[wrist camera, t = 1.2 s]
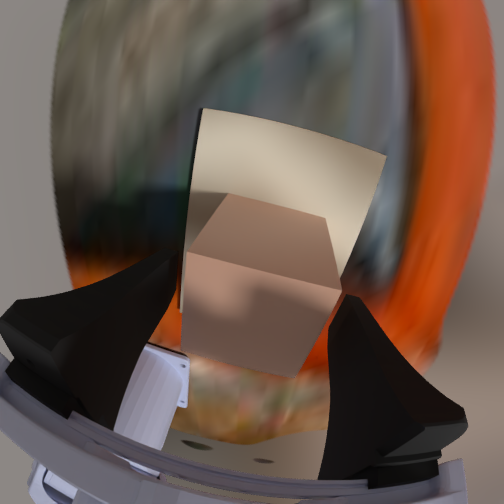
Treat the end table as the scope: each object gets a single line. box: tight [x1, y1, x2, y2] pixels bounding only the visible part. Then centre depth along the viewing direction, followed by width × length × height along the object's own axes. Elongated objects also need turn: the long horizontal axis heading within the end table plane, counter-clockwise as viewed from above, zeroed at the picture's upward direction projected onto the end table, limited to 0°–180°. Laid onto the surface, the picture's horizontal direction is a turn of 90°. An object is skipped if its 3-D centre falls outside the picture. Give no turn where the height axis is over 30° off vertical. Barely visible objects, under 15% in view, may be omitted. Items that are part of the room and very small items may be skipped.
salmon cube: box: [181, 193, 342, 378], centre depth 12 cm, size 5×5×6 cm
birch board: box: [180, 108, 387, 313], centre depth 15 cm, size 13×9×1 cm
